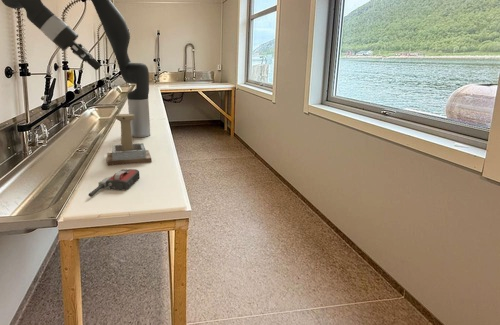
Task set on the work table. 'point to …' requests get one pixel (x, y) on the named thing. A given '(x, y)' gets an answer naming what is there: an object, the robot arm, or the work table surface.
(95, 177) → the work table surface
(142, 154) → the collar
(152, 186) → the work table surface
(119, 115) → the handle
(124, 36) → the robot arm
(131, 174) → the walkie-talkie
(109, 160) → the board
